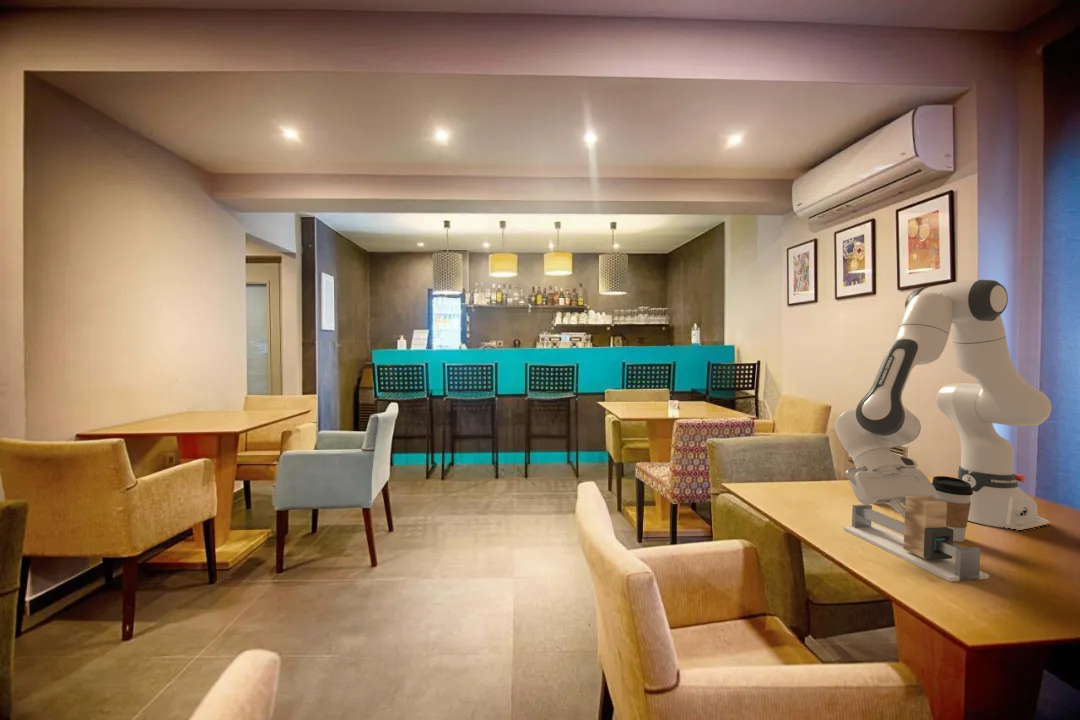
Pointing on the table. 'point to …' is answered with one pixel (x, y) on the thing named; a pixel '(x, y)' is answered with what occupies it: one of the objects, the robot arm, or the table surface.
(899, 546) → the board
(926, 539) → the dark grey sliding carriage
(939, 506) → the wooden slider block
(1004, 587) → the table surface
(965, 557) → the sliding carriage track
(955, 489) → the coffee cup
